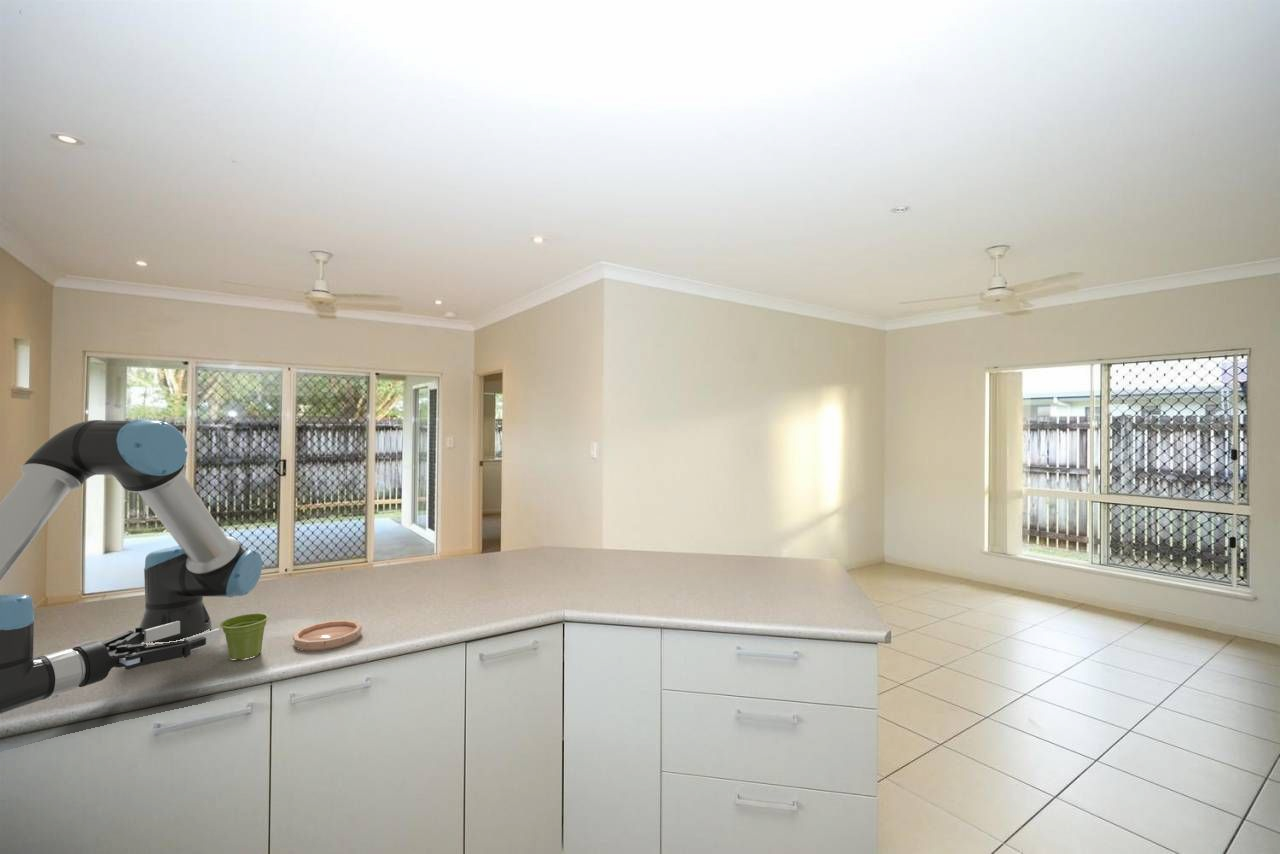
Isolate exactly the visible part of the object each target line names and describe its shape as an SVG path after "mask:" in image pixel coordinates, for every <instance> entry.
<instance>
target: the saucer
mask: <svg viewBox="0 0 1280 854" xmlns="http://www.w3.org/2000/svg"><path fill="white" fill-rule="evenodd" d="M362 629H363V627H362V625H361V624H360V623H359V622H358V621H354V620H348V619H345V620H343V619H342V620H341V619H340V620H339V619H338V620H328V621H323V622H318V623H314V624H310V625H308V626H305V627H302V628H300V629H299V630H297V631H296V632H295V633H294V634H293V635H292V640H293V647H294V646H295V647H297V648H299V649H303V650H302V651H304V650H311V651H310V652H317V650H319V651H326V650H332V649H336V648H341V647H344V646H346V645H349V644H351V642H352V643H353V642H355V641H357V640H359V638H360V637H361V633H362ZM356 639H357V640H356ZM295 647H294V648H295ZM297 648H296V649H297ZM299 649H298V650H299ZM315 650H316V651H315Z"/></svg>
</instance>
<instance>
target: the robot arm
mask: <svg viewBox="0 0 1280 854" xmlns="http://www.w3.org/2000/svg"><path fill="white" fill-rule="evenodd" d="M187 448H188V445H187V442H186V439H185V437H184V435H183V433H181V431H180V430H179V429H177V427H175V426H174V425H172V424H170V423H168V422H165V421H160V420H150V419H134V420H107V419H106V420H103V419H93V420H86V421H82V422H79V423H75V424H73V425H71V426H69V427H66V428H65V429H63V430H61V431H59V432H57V433H56V434H55V435H54V436H52V437H51V438H50V439H48V440H47V441H46V442H44V443H43V444H42V445H41V446H40V447H39V448H37V450H35V451H34V453H32V454H31V456H30V457H29V458H28V459H27V460H26V461H25V462H24V464H23V465H22V466H21V467H20V472H21V474H22V476H21V477H20V478H19V480H18V481H17V482H16V483H15V484H14V486H13V487H12V488H11V489H10V490H9V492H8V493H7V494H6V495H5V497H4V498H3V499H2V500H1V501H0V583H1V582H2V581H3V579H4V578H5V577H6V575H7V574H8V572H10V571H11V569H12V568H13V567H14V565H15V564H16V562H17V561H18V560H19V558H20V557H21V556H22V554H23V553H24V552H25V550H26V549H27V548H28V547H29V545H30V543H32V542H33V540H34V539H35V537H36V536H37V535H38V534H39V532H40V530H41V529H42V528H43V526H45V524H46V523H47V521H48V520H49V519H50V517H51V516H52V515H53V513H55V511H56V510H57V508H58V507H59V505H60V504H61V503H62V502H63V500H64V499H65V498H66V496H67V495H68V494H69V492H70V493H71V492H73V491H77V490H79V489H80V488H81V487H82V485H83V484H84V482H86V481H87V480H88V479H90V478H91V477H93V476H97V475H98V476H100V475H101V476H103V475H104V476H106V475H107V476H109V475H110V476H112V477H114V478H115V479H116V480H117V482H118V483H119V484H120V486H121V487H122V488H123V489H124V490H125V491H127V492H129V493H138V494H139V495H140V497H141V498H142V499H143V500H144V502H145V503H146V504H147V506H148V507H149V508H150V509H151V511H152V512H153V514H154V515H155V516H156V517H157V519H158V520H159V521H160V522H161V524H162V525H163V526H164V527H165V529H166V530H167V532H168V533H169V535H170V536H171V537H172V538H173V540H175V542H176V543H177V544H178V545H175V546H171V547H170V546H169V547H166V548H162V549H157V550H154V551H152V552H151V551H150V552H149V553H148V554H146V555H147V556H146V557H145V560H144V561H145V562H144V568H143V572H144V599H145V600H144V603H145V605H144V607H145V610H144V613H143V616H142V619H141V620H140V623H139V626H138V627H135V631H134V630H133V629H132V630H131V629H130V630H128V631H126V632H123V633H121V634H118V635H116V636H114V637H112V638H109V639H107V640H104V641H103V642H100V641H92V642H89V643H88V642H87V643H84V644H82V645H78V646H74V647H73V648H66V649H62V650H57V651H55V652H51V653H48V654H44V655H40V656H37V657H34V637H35V636H34V635H35V632H34V631H35V619H36V615H35V613H34V600H33V598H32V597H31V596H30V595H29V594H26V593H25V594H24V593H11V594H0V715H2V714H4V713H7V712H9V711H14V710H15V709H19V708H23V707H24V706H25V707H26V706H27V705H30V704H33V703H36V702H40V701H42V700H46V699H49V698H50V699H57V698H58V696H59V695H61V694H64V693H66V692H70V691H73V690H75V689H77V688H83V687H86V686H89V685H92V684H96V683H98V682H101V681H104V680H105V679H106V678H107V677H108V675H109V673H110V671H112V669H113V668H125V670H132V669H136V668H138V667H142V666H147V665H152V664H157V663H162V662H166V661H171V660H176V659H181V658H185V659H186V658H188V657H190V656H191V654H192V651H194V650H197V649H201V648H204V647H207V646H210V645H211V646H212V645H213V644H216V643H219V642H220V641H221V628H215V629H212V619H211V617H210V615H209V613H208V611H207V607H206V606H205V603H204V597H211V598H212V597H213V598H214V597H215V598H217V597H218V598H219V597H220V598H221V597H222V598H233V597H243V596H246V595H248V594H249V593H251V592H252V591H253V590H254V588H255V587H256V586H257V584H258V583H259V580H260V578H261V575H262V571H263V558H262V555H261V554H260V552H259V551H257V550H254V549H244V548H243V546H242V545H241V543H240V542H239V541H238V539H236V538H235V537H232V536H226V535H225V533H224V532H223V529H222V528H221V527H220V526H219V524H218V522H217V521H216V520H215V518H214V517H213V516H212V514H211V512H210V511H209V510H208V508H207V506H206V505H205V504H204V502H203V501H202V499H201V498H200V496H199V495H198V493H197V492H196V491H195V489H194V488H193V486H192V484H191V483H190V482H189V480H188V478H186V475H185V474H184V473H183V472H184V470H185V468H186V461H187V457H188V451H186V449H187ZM210 628H211V631H208V632H204V631H206V630H208V629H210ZM202 632H204V633H202ZM199 633H201V634H199ZM196 634H198V635H196ZM193 635H195V636H193ZM187 637H188V638H187ZM183 638H185V639H184V641H177V642H170V643H163V644H155V645H148V646H147V645H146V644H141V643H142V642H144V643H149V642H150V643H151V642H153V643H155V642H169V641H176V640H180V639H183Z"/></svg>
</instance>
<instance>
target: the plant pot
mask: <svg viewBox="0 0 1280 854" xmlns="http://www.w3.org/2000/svg"><path fill="white" fill-rule="evenodd" d="M268 619H269V615H268V614H266V613H258V612H257V613H250V614H249V613H248V614H242V615H236V616H233V617H229V618H227V619H226V620H223V621H222V622H221V623H220V626H219V627H220V628H222V630H223V633H224V636H225V640H226V644H227V645H226V646H227V650H228V657H229V659H230V658H231V659H245V658H250V657H253V656H256V655H257V656H258V655H260V654H261V653H262V649H263V648H262V646H263V640H264V631H265V627H266V625H267V620H268ZM260 652H261V653H260ZM259 653H260V654H259ZM257 656H256V657H257Z"/></svg>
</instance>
